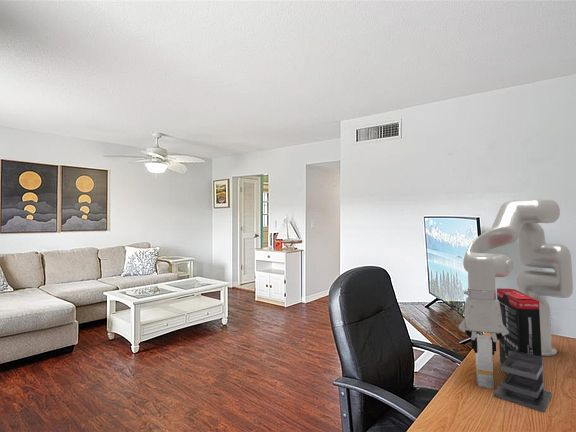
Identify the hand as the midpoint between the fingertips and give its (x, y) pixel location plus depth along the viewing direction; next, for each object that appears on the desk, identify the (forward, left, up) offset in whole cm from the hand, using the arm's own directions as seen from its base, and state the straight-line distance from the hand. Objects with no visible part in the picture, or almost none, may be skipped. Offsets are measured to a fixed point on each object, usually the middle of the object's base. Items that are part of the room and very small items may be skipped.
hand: (483, 351), depth 106 cm
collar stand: (0, +10, -10) cm, 14 cm away
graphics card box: (-16, +6, -11) cm, 20 cm away
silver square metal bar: (0, 0, -10) cm, 10 cm away
